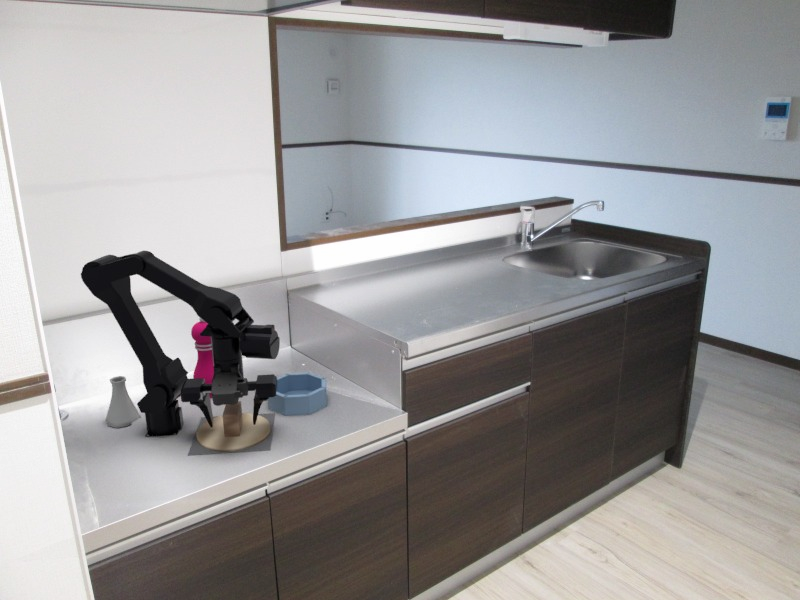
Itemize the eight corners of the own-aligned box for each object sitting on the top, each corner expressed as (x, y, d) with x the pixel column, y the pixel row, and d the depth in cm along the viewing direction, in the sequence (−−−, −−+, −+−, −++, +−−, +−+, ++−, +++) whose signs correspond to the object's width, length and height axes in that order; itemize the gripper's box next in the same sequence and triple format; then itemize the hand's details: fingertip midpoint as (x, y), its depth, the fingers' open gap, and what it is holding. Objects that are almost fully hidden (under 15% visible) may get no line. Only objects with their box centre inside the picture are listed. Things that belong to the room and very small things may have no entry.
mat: (187, 458, 125) (187, 455, 125) (201, 419, 140) (201, 417, 140) (270, 452, 127) (270, 450, 127) (275, 415, 142) (275, 413, 142)
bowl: (267, 419, 141) (266, 398, 139) (271, 393, 153) (270, 374, 151) (327, 415, 142) (326, 395, 141) (326, 390, 155) (325, 371, 153)
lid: (190, 454, 125) (187, 427, 124) (203, 418, 140) (200, 394, 138) (267, 449, 127) (266, 423, 126) (272, 414, 142) (271, 390, 140)
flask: (130, 409, 145) (125, 369, 142) (147, 419, 141) (142, 377, 138) (99, 421, 140) (93, 379, 137) (116, 432, 135) (109, 389, 132)
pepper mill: (232, 392, 154) (225, 313, 148) (209, 403, 148) (201, 322, 142) (212, 385, 157) (204, 308, 151) (188, 396, 152) (179, 316, 146)
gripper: (170, 374, 120) (179, 447, 124) (271, 369, 122) (276, 441, 126) (182, 352, 130) (190, 420, 135) (275, 348, 132) (279, 415, 137)
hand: (233, 425), depth 133 cm, fingers open, 8 cm apart
